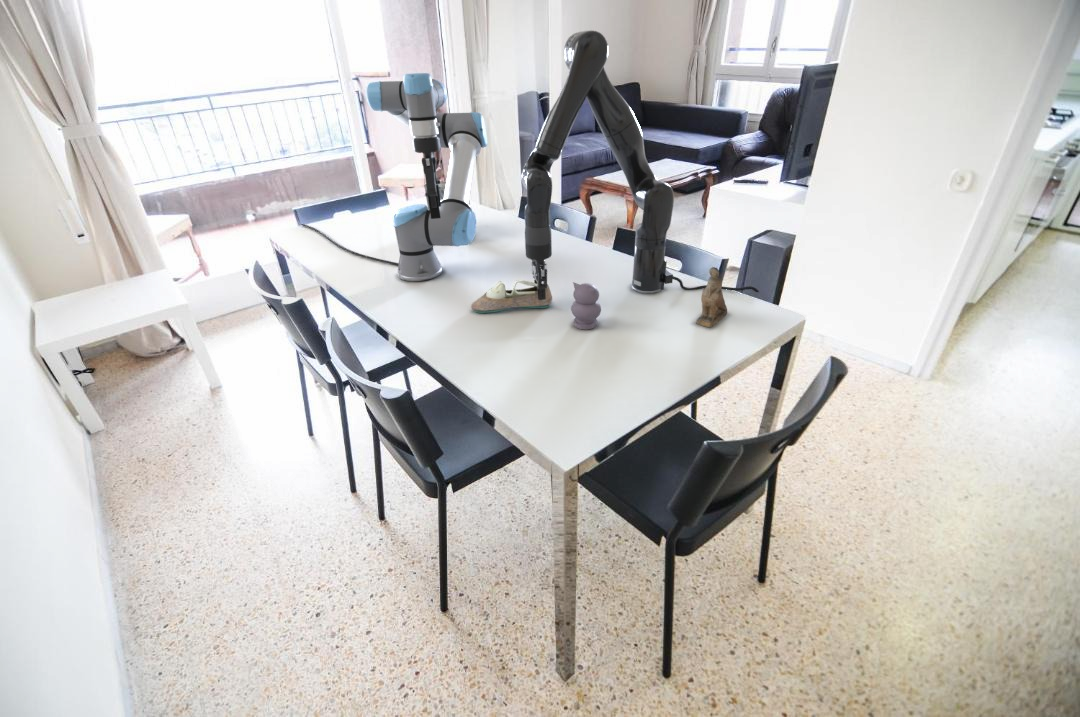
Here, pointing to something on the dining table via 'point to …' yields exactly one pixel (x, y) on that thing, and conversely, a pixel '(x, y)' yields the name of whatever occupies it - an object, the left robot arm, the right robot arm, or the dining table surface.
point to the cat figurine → (585, 306)
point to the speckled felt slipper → (511, 298)
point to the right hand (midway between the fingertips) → (540, 294)
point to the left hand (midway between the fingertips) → (436, 212)
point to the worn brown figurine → (712, 301)
